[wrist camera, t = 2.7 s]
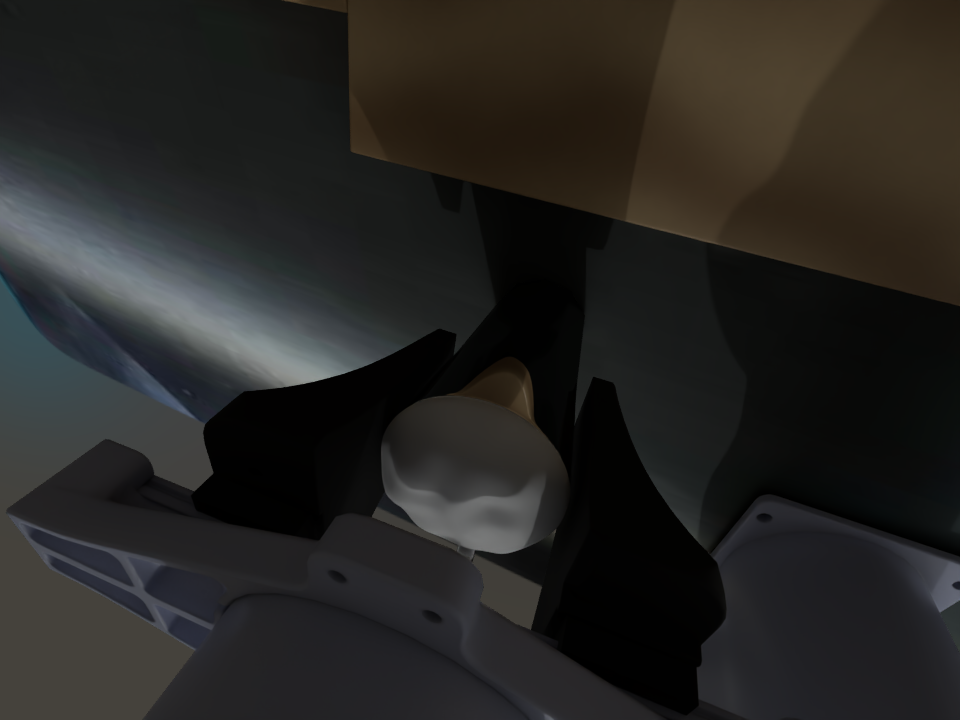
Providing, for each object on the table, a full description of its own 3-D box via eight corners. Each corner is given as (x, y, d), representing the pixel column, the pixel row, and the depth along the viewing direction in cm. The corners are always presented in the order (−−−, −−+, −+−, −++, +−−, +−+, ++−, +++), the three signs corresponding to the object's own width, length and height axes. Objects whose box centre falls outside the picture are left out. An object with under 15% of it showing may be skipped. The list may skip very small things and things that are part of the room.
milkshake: (479, 373, 19) (357, 596, 12) (484, 251, 16) (322, 442, 8) (588, 396, 18) (536, 660, 10) (615, 271, 15) (569, 510, 7)
